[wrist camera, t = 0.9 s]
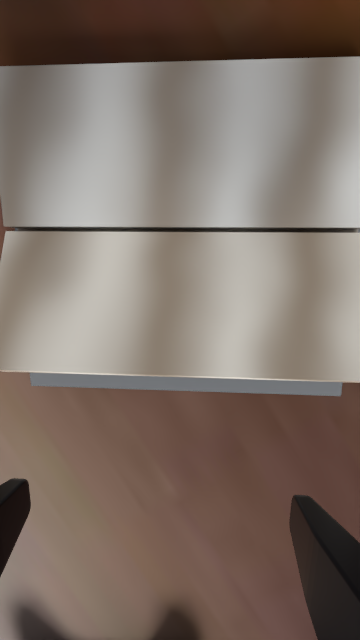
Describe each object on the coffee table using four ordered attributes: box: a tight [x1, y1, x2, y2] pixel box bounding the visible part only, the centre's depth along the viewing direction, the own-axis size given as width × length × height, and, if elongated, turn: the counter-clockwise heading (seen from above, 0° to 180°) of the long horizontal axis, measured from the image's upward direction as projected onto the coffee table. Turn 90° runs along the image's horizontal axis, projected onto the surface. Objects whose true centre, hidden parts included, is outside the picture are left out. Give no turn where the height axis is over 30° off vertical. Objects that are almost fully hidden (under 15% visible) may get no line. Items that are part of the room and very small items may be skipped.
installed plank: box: [0, 57, 360, 233], centre depth 15 cm, size 18×8×2 cm, turn 89°
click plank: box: [0, 231, 360, 383], centre depth 15 cm, size 18×7×2 cm, turn 89°
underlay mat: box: [15, 228, 360, 396], centre depth 17 cm, size 19×17×1 cm
